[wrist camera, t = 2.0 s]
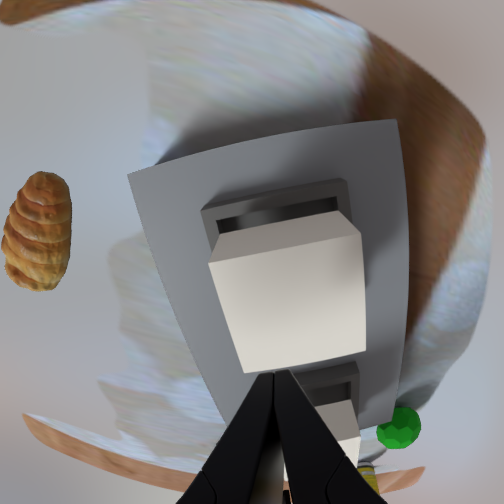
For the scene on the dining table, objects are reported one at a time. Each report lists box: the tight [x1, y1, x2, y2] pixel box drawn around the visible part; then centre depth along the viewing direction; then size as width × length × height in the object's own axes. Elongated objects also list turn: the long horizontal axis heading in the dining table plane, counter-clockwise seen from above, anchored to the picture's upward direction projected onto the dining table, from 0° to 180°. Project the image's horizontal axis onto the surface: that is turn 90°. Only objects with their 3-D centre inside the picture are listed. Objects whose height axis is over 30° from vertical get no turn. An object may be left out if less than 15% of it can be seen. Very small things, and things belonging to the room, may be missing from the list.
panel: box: [128, 119, 409, 430], centre depth 19 cm, size 24×14×5 cm, turn 13°
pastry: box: [1, 171, 72, 291], centre depth 18 cm, size 9×7×4 cm
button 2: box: [208, 211, 366, 373], centre depth 12 cm, size 5×5×3 cm
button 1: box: [284, 399, 361, 481], centre depth 16 cm, size 5×5×3 cm
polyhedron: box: [376, 407, 421, 449], centre depth 24 cm, size 5×5×5 cm
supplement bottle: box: [357, 462, 380, 495], centre depth 27 cm, size 5×5×10 cm
